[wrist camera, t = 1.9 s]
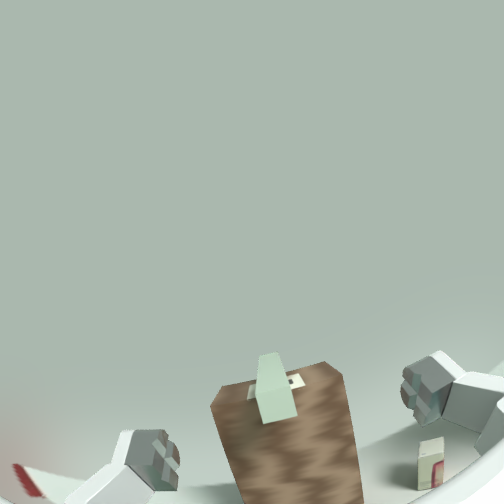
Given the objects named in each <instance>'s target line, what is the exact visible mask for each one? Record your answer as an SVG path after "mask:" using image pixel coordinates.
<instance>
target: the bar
mask: <svg viewBox="0 0 504 504" xmlns="http://www.w3.org/2000/svg"><path fill="white" fill-rule="evenodd" d="M255 396H256V399H257V403H258V407H259V410H260V414H261V417H262V421H263V424H266V423H270V422H275V421H279V420H283V419H287V418H291V417H295V416H298V415H297V411H296V407H295V403H294V399H293V395H292V391H291V387H290V384H289V381H288V378H287V376H286V373H285V370H284V368H283V365H282V362H281V359H280V357H279V354H278V352H274V353H270V354H266V355H261V356H259V363H258V372H257V381H256V390H255Z"/></svg>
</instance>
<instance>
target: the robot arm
mask: <svg viewBox="0 0 504 504" xmlns="http://www.w3.org/2000/svg"><path fill="white" fill-rule="evenodd" d="M402 376H403V378H404V379H405V380H404V382H403V383H402V384H401V391H400V392H401V397H402V400H403V402H404V404H405V405H406V407H407V408H410V409H412V410H414V414H413V416H414V417H415V419H416V420H417V421H418V423H419V424H420V425H421V427H424V426H426V425H428V424H430V423H432V422H433V421H435V420H437V419H439V418H440V417H442V419H445V420H447V421H450V422H452V423H455V424H457V425H460V426H462V427H465V428H468V429H470V430H473V431H476V432H478V433H481V434H480V436H479V438H478V439H477V441H476V443H475V446H474V447H475V449H476V450H477V451H478V452H479V454H480V455H481V457H480V458H478V459H477V460H476V461H475V462H473V463H472V464H471V465H469V466H468V467H467V468H465V469H464V470H462V471H461V472H460V473H458V474H457V475H455V476H454V477H452V478H451V479H449V480H448V481H446V482H445V483H443V484H441V485H440V486H438V487H437V488H435V489H433V490H432V491H430V492H428V493H426V494H425V495H423V496H421V497H419V498H417V499H416V500H414V501H412V502H410V503H408V504H504V377H500V376H494V375H488V374H482V373H477V372H472V371H469V372H467V373H466V372H465V371H464V370H463V369H462V368H461V367H460V366H458V364H456V363H455V362H454V361H453V360H452V359H451V358H449V357H448V356H447V355H446V354H445V353H444V352H442V351H440V350H439V351H437V352H435V353H433V354H431V355H429V356H428V357H425V358H423V359H421V360H419V361H417V362H415V363H413V364H411V365H409V366H407V367H405V368H404V370H403V375H402ZM179 466H180V457H179V452H178V449H177V447H176V446H175V444H174V443H173V442H171V441H169V440H168V434H167V433H166V432H165V430H161V429H160V430H123V431H122V432H121V433H120V436H119V439H118V442H117V445H116V448H115V451H114V454H113V457H112V461H111V464H106V465H105V466H104V467H103V468H102V469H100V470H99V471H98V472H97V473H96V474H94V475H93V476H92V477H91V478H89V479H88V480H87V481H86V482H85V483H83V484H82V485H81V486H80V487H78V488H77V489H76V490H75V491H73V492H72V493H71V494H70V495H68V496H67V497H66V500H65V503H64V504H146V503H147V502H148V501H149V499H150V498H151V497H152V495H153V494H154V493H155V492H154V491H177V487H178V475H177V474H176V472H175V471H176V469H177V468H178V467H179ZM0 504H14V503H12V502H10V501H8V500H7V499H5V498H3V497H1V496H0Z"/></svg>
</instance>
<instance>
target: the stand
mask: <svg viewBox="0 0 504 504" xmlns="http://www.w3.org/2000/svg"><path fill="white" fill-rule="evenodd" d="M285 373H286V376H287V378H288V381H289V384H290V387H291V391H292V395H293V399H294V403H295V407H296V411H297V415H298V416H295V417H291V418H287V419H283V420H279V421H275V422H270V423H266V424H263V421H262V417H261V414H260V410H259V407H258V403H257V399H256V396H255V390H256V381H257V379H256V380H251V381H247V382H242V383H237V384H232V385H227V386H222V387H221V389H220V391H219V393H218V394H217V396H216V397H215V399H214V401H213V402H212V404H211V406H210V407H211V411H212V414H213V417H214V420H215V424H216V427H217V430H218V433H219V436H220V439H221V442H222V445H223V448H224V451H225V454H226V456H227V459H228V462H229V465H230V468H231V470H232V473H233V475H234V478H235V481H236V483H237V486H238V489H239V491H240V494H241V496H242V499H243V501H244V504H364V499H363V491H362V483H361V476H360V469H359V462H358V456H357V450H356V444H355V438H354V432H353V426H352V421H351V416H350V411H349V405H348V400H347V395H346V390H345V386H344V381H343V376H342V374H341V373H340V372H338V371H337V370H336V369H334V368H333V367H332V366H330V365H329V364H327V363H326V362H325V361H324V362H321V363H317V364H314V365H310V366H307V367H304V368H300V369H296V370H293V371H289V372H285Z"/></svg>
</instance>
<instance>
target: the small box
mask: <svg viewBox="0 0 504 504" xmlns="http://www.w3.org/2000/svg"><path fill="white" fill-rule="evenodd" d="M417 460H418V490H424V489H429V488H434V487H438V486H440V485H441V484H442V483H443V472H444V436H442V437H438V438H434V439H430V440H425V441H421V442H420V443H419V450H418V458H417Z"/></svg>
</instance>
